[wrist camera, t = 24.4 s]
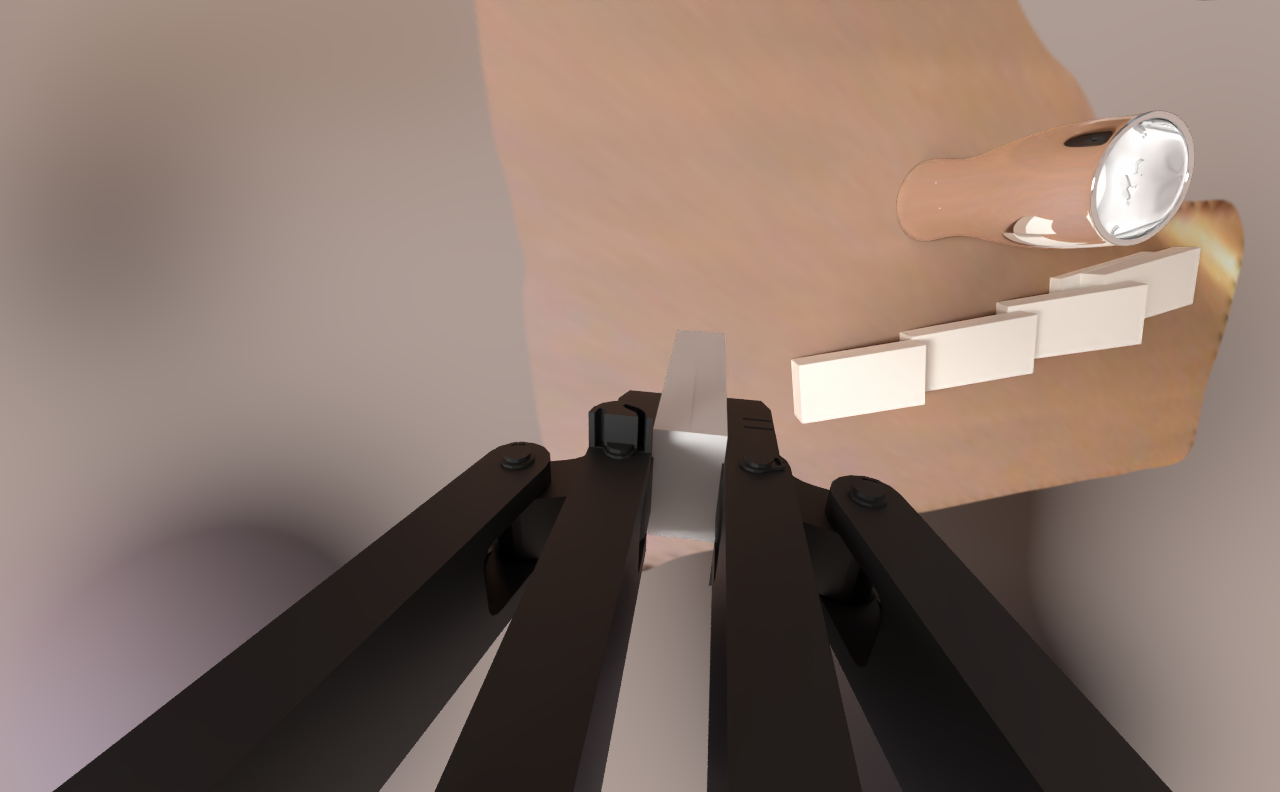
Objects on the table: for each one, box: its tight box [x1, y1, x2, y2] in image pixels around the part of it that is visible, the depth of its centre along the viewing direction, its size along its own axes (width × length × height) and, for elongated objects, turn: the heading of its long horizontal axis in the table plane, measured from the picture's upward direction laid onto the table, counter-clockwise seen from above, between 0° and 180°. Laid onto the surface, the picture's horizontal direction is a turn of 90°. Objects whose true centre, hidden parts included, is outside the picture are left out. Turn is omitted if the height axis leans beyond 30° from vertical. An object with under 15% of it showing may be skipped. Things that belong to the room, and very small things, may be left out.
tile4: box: [1080, 247, 1201, 318], centre depth 45 cm, size 2×5×10 cm
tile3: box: [996, 280, 1148, 359], centre depth 43 cm, size 2×5×10 cm
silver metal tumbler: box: [897, 111, 1195, 249], centre depth 33 cm, size 7×7×15 cm
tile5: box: [1049, 252, 1154, 294], centre depth 47 cm, size 2×5×10 cm
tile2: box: [900, 310, 1037, 392], centre depth 43 cm, size 2×5×10 cm
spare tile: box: [791, 339, 926, 424], centre depth 42 cm, size 2×5×10 cm
